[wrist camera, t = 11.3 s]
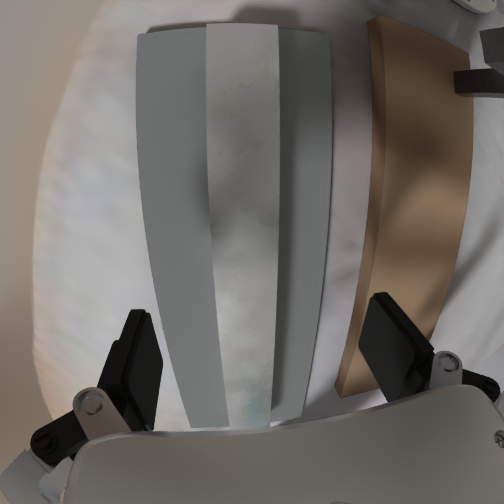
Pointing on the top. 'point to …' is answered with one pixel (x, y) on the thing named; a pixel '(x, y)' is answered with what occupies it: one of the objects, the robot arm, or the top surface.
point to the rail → (244, 209)
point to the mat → (198, 215)
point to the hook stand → (416, 175)
